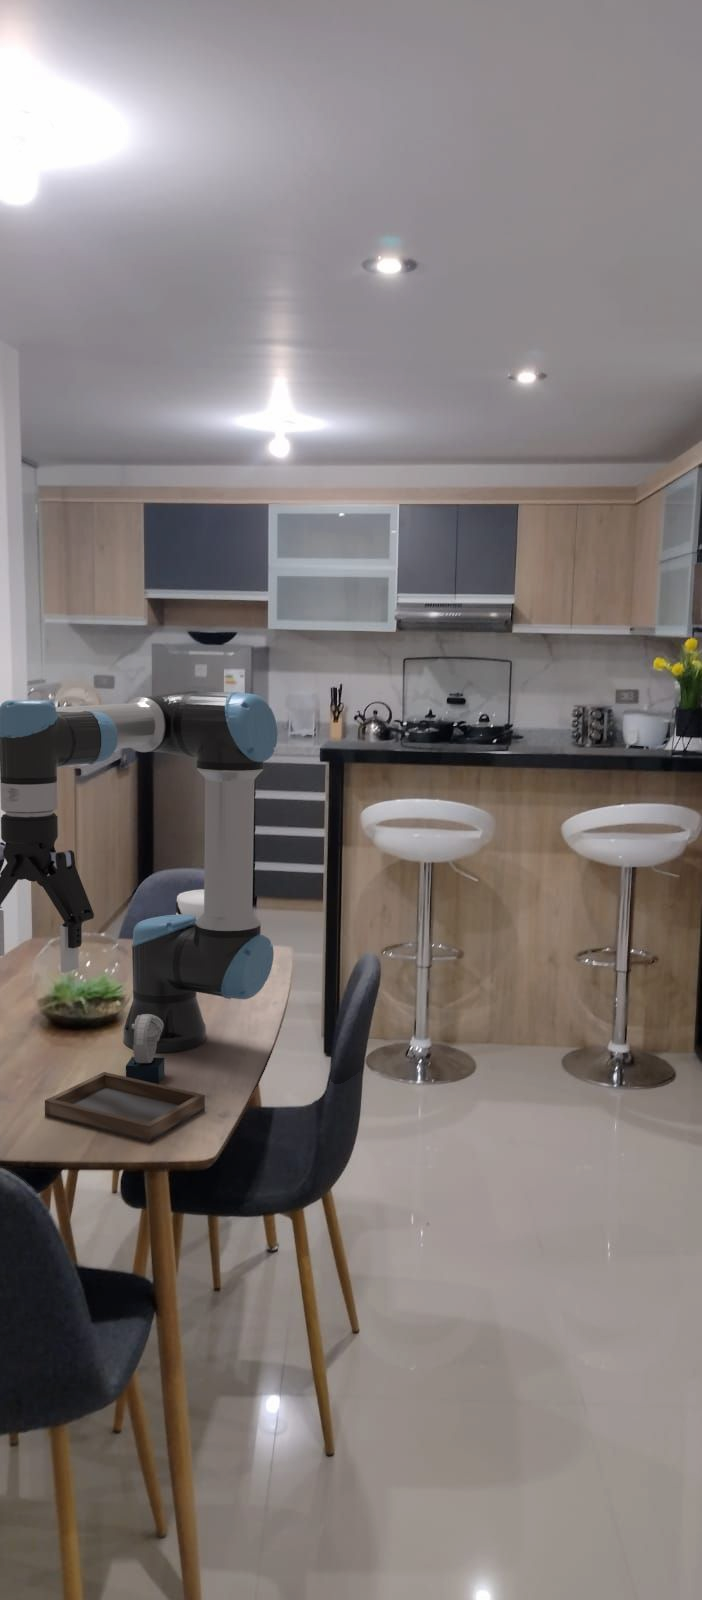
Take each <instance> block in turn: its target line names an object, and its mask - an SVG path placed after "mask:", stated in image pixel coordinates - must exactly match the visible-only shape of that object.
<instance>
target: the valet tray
mask: <svg viewBox="0 0 702 1600" xmlns="http://www.w3.org/2000/svg"><path fill="white" fill-rule="evenodd" d="M205 1111H206V1095H205V1094H202V1093H197V1092H193V1091H189V1090H185V1089H180V1088H176V1087H172V1086H167V1085H162V1084H160V1083H159V1084H155V1083H151V1082H146V1081H142V1080H137V1079H133V1078H129V1077H126V1076H123V1075H119V1074H115V1073H111V1072H106V1071H103V1072H100V1073H98V1074H97V1075H94V1076H93V1077H91V1078H89V1079H86V1080H85V1081H82V1082H80V1083H78V1084H75V1085H74V1086H72V1087H69V1088H68V1089H65V1090H63V1091H61V1092H58V1093H57V1094H55V1095H52V1096H50V1097H49V1098H47V1099H44V1116H45V1117H46V1118H47V1117H48V1118H50V1119H54V1120H55V1119H56V1120H58V1121H62V1122H66V1123H70V1124H74V1125H78V1126H81V1127H84V1128H85V1127H86V1128H89V1129H92V1130H97V1131H101V1132H104V1133H108V1134H111V1135H115V1136H120V1137H123V1138H127V1139H131V1140H135V1141H139V1142H143V1143H147V1144H151V1143H153V1142H155V1141H156V1140H158V1139H160V1138H162V1137H163V1136H165V1135H167V1134H168V1133H170V1132H171V1131H173V1130H175V1129H176V1128H179V1127H180V1126H181V1125H183V1124H185V1123H186V1122H189V1121H190V1120H191V1119H193V1118H196V1116H198V1115H200V1114H202V1113H203V1112H205Z"/></svg>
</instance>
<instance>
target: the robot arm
mask: <svg viewBox="0 0 702 1600" xmlns="http://www.w3.org/2000/svg"><path fill="white" fill-rule="evenodd" d="M277 743H278V727H277V721H276V717H275V714H274V712H273V709H272V707H270V705H269V703H268V702H267V701H266V700H265V699H264V698H263V697H261V696H259V695H257V694H253V693H247V692H240V691H233V692H232V691H231V692H230V691H229V692H228V691H197V690H192V691H191V690H184V691H183V690H182V691H178V692H177V691H175V692H171V693H165V694H158V695H150V696H138V697H134V698H132V699H131V700H130V701H128V702H127V703H110V704H109V703H108V704H91V705H74V706H73V705H70V706H56V704H55V702H53V701H51V700H48V699H47V700H46V699H9V700H5V701H3V702H2V703H1V704H0V810H1V811H3V812H4V814H2V816H0V838H1V841H2V842H0V957H3V956H5V921H4V920H5V917H4V915H5V913H4V912H5V911H4V910H1V909H2V908H3V907H2V903H4V900H5V899H6V898H7V897H8V895H9V894H10V893H11V891H12V890H13V888H14V886H15V885H16V883H17V882H18V880H21V881H22V880H27V881H29V882H36V883H37V884H38V886H40V887H42V888H43V890H44V891H45V892H46V894H47V896H48V897H49V899H50V900H51V902H52V904H53V905H54V907H55V908H56V911H57V912H58V914H59V915H60V917H61V919H62V920H63V924H60V926H59V930H60V931H59V933H60V934H59V935H60V939H59V940H60V946H59V947H60V973H64V974H66V973H69V972H72V971H75V970H78V969H79V947H81V946H82V942H83V941H82V938H83V937H82V935H83V934H82V931H83V930H82V924H83V923H84V922H87V921H89V920H93V919H94V917H95V913H94V911H93V910H94V909H93V908H92V905H91V902H90V900H89V897H88V895H87V892H86V891H85V888H84V885H83V882H82V879H81V878H80V874H79V872H78V869H77V865H76V858H75V857H76V856H75V852H74V851H73V850H71V849H69V850H66V851H65V850H64V851H56V847H55V843H56V840H57V839H58V837H59V834H58V833H59V831H58V830H59V828H58V826H59V825H58V824H59V823H58V821H59V820H58V815H57V814H56V813H55V812H54V811H56V810H57V809H58V781H57V780H58V767H62V766H63V767H65V766H74V765H76V766H77V765H86V764H87V765H94V764H95V763H101V762H105V761H106V760H108V759H109V758H111V757H112V756H113V754H114V753H115V752H116V750H120V749H132V750H134V751H135V752H140V753H151V752H154V753H163V754H164V753H165V754H171V755H179V756H183V757H184V756H185V757H192V758H193V757H194V758H195V757H196V770H197V771H198V772H199V773H200V775H201V776H203V778H204V780H205V783H204V785H205V790H204V791H205V793H204V798H205V799H204V869H203V870H204V871H203V872H204V874H203V875H204V876H203V877H204V879H203V880H204V881H203V883H204V884H203V889H204V913H203V914H202V915H201V916H200V917H199V918H198V919H196V917H195V916H193V915H189V914H178V915H176V914H168V915H162V916H161V915H160V916H155V917H151V918H147V919H143V920H141V921H139V922H137V923H136V924H135V926H134V927H133V930H132V931H133V932H132V935H133V936H132V943H131V950H132V956H131V957H132V958H131V959H132V962H131V963H132V1002H131V1005H130V1008H129V1011H128V1015H127V1018H126V1020H125V1024H124V1028H123V1043H124V1045H125V1046H127V1047H128V1048H130V1049H133V1046H134V1038H135V1037H134V1031H135V1029H132V1024H135V1020H136V1018H137V1016H138V1015H143V1014H151V1015H154V1016H157V1017H158V1018H160V1019H161V1020H162V1022H163V1024H164V1027H163V1030H162V1033H161V1035H160V1038H159V1041H157V1044H156V1045H157V1046H156V1051H155V1054H156V1053H158V1054H159V1053H160V1054H163V1053H165V1054H166V1053H175V1052H181V1051H186V1050H187V1051H188V1050H191V1049H194V1048H196V1047H199V1046H201V1045H202V1044H203V1043H204V1042H206V1040H207V1039H206V1038H207V1027H206V1024H205V1021H204V1018H203V1015H202V1010H201V1008H200V1005H199V1001H198V999H197V993H202V994H204V995H212V996H217V997H222V998H224V999H229V1000H231V999H236V1000H248V999H251V998H253V997H255V996H256V995H258V993H260V991H261V990H262V989H263V987H264V986H265V983H266V982H267V981H268V979H269V977H270V974H271V971H272V967H273V964H274V963H273V962H274V957H275V956H274V946H273V943H272V942H271V940H270V938H269V937H266V935H263V934H261V932H262V931H261V928H262V927H261V925H262V922H261V920H260V919H259V918H258V917H257V916H256V915H255V914H254V912H253V894H254V893H253V892H254V891H253V887H254V885H253V884H254V881H253V880H254V833H255V831H254V830H255V828H254V827H255V826H254V824H255V823H254V822H255V821H254V820H255V819H254V818H255V780H256V778H257V777H258V776H259V775H260V774H262V772H264V762H266V761H268V760H269V759H270V758H272V756H273V755H274V753H275V748H276V747H277ZM5 862H6V865H5V866H4V863H5ZM3 866H4V868H3ZM2 868H3V869H2Z"/></svg>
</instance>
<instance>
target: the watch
mask: <svg viewBox="0 0 702 1600" xmlns="http://www.w3.org/2000/svg"><path fill="white" fill-rule="evenodd" d="M163 1027H164V1024H163V1022H162V1020H161V1019H160V1018H158V1017H157V1016H154V1015H151V1014H143V1015H138V1016H137V1018H136V1020H135V1024H132V1029H135V1031H134V1037H135V1038H134V1046H133V1056H131V1057H130V1059H129V1061H128V1062H127V1063H126V1065H125V1077H129V1078H133V1079H137V1080H142V1081H146V1082H151V1083H155V1084H159V1085H160V1083H161V1082H162V1080H163V1078H164V1077H165V1057H155V1056H156V1055H155V1054H156V1053H155V1051H156V1046H157V1045H156V1044H157V1041H159V1038H160V1035H161V1033H162V1030H163Z"/></svg>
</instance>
